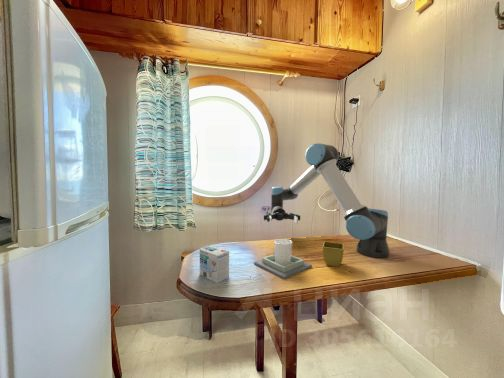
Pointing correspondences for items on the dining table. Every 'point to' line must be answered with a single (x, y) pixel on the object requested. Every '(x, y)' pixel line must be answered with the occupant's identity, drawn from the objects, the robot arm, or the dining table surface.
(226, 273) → the light bulb box
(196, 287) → the dining table surface
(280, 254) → the white cup
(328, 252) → the flower pot
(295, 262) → the holder tray
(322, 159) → the robot arm
